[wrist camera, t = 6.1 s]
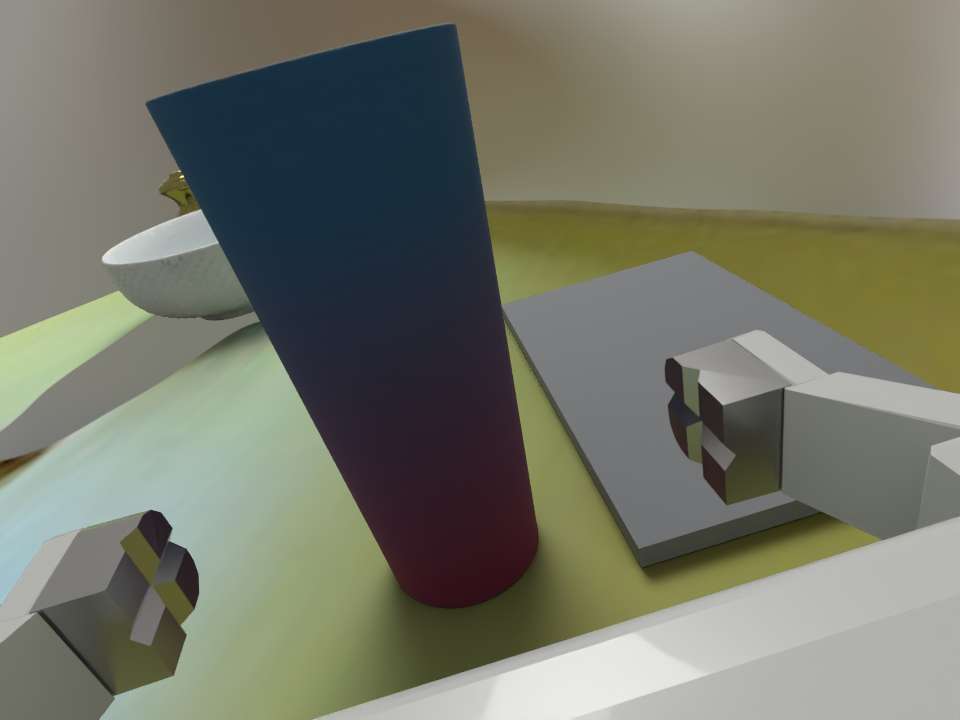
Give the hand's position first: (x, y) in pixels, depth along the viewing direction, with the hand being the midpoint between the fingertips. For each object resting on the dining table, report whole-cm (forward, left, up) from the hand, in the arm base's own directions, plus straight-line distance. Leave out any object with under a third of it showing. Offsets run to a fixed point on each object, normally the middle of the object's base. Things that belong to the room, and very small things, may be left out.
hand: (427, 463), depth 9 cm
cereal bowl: (-14, +42, -9) cm, 46 cm away
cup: (0, +7, -9) cm, 12 cm away
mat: (+10, +14, -9) cm, 20 cm away
